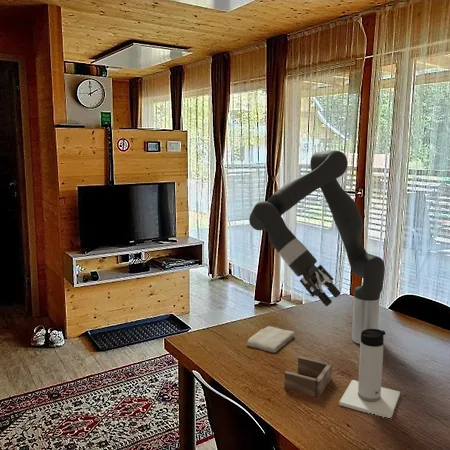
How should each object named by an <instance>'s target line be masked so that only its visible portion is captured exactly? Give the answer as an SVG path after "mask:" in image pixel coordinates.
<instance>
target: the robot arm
mask: <svg viewBox="0 0 450 450" xmlns="http://www.w3.org/2000/svg"><path fill="white" fill-rule="evenodd" d="M309 162H310V163H309V164H310V169H311V171H309V172H308V173H306V174H304V175H301V176H299V177H297V178H294V179H293V180H291V181H289V182H287V183H286V184H284V185H283V186H281V187H280V188H279V189H278V190H276V191H275V192H274V193H273V194H272V195H271V196H270V198H269V199H268V200H261V201H258V202H257V203H256V204H255V205H254V207H253V208H252V210H251V213H250V215H249V220H248V221H249V224H250V227H251V228H252V229H254V230H256V231H266V232H267V234H268V241H269V243H270V244H271V246H272V247H273V248H274V249H275V251H276V252H277V253H278V254H279V255H280V257H281V259H282V260H283V261H284V262H285V263H286V265H287V266H288V267H289V268H290V269H291V271H292V272H293V273H294V275H295V276H297V277H301V276H302V278H301V279H300V280H299V282H300V284H302V287H304V289H305V290H306V291H307V292H308V293H309V295H310V296H311V297H313V298H314V297H317V298H318V299H319V300H320V301H321V303H322V304H323V305H324V306H325V307H328V306H330V305H331V304H332V303H333V301H332V299H331V298H330V297H329V296H328V295H327V293H326V292H325V291H324V290H323V288H322V287H323V286H324V287H325V288H326V289H327V291H329V292H330V294H331V295H332V296H333V298H338V297H339V296H340V295H341V294H342V293H341V291H340V290H339V289H338V288H337V286H335V284H334V278H333V277H332V275H331V274H330V273H329V272H328V271H327V270H326V268H325V267H324V266H323V265H322V264H319V265H318V266H316V265H315V264H316V263H317V262H318V260H317V258H316V257H315V256H314V255H313V254H312V253H311V251H310V250H309V249H308V248H307V247H306V245H304V244H303V242H301V240H299V239H298V238H297V237H296V235H295V234H294V233H293V232H292V231H291V230H290V229H289V228H288V226H287V224H286V222H285V220H284V218H283V217H282V216H283V215H284V214H285V213H286V212H288V211H289V210H291V209H292V208H294V206H296V205H297V204H298V203H300V201H302V200H303V199H305V198H307V196H309V195H310V194H312V193H314V192H315V191H317V190H319V189H320V190H321V191H322V195H323V196H324V199H325V201H326V203H327V206H328V208H329V211H330V213H331V215H332V219H333V221H334V224H335V226H336V228H337V231H338V233H339V235H340V238H341V241H342V244H343V246H344V249H345V252H346V256H347V259H348V264H349V267H350V269H351V272H352V273H353V274H354V275H355V276H356V277H359V278H362V279H363V280H362V285H359V286H356V287H355V288H354V289H353V303H352V304H353V306H352V307H353V308H352V327H351V330H352V331H351V339H352V340H351V341H353V342H354V343H356V344H358V345H360V340H361V333H362V331H363V330H366V329H379V320H380V302H381V299H380V298H381V294H382V291H383V289H384V280H385V273H386V271H385V269H386V267H385V262H384V260H383V259H382V258H381V257H380V256H377V255H374V254H371V253H368V251H367V250H366V249H365V247H364V244H363V240H362V233H363V229H364V221H363V217H362V214H361V212H360V209H359V207H358V204H357V203H356V201H355V200H354V199H353V198H352V197H351V195H349V194H348V192H346V191H345V190H344V189H343V188H342V186H341V185H340V184H339V181H338V178H340V177H342V176H343V175H345V174H344V173H346V171H347V168H348V163H349V161H348V159H347V155H346V154H345V153H344V152H343V151H341V150H340V151H339V150H330V149H329V150H319V151H316V152H314V153H313V154H312V155H311V157H310V161H309Z"/></svg>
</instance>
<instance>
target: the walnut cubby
mask: <svg viewBox="0 0 450 450" xmlns="http://www.w3.org/2000/svg"><path fill="white" fill-rule="evenodd" d="M332 372H333V364H332V363H331V362H324V361H321V360H316V359H313V358H309V357H304V356H300V355H299V356H298V357H297V373H296V372H291V371H288V370H285V372H284V379H283V380H284V381H283V382H284V383H283V384H284V385H283V386H284V389H285V390H291V391H294V392H296V393H297V392H298V393H301V394H304V395H308V396H312V397H316V398H320V397H321V395H322V394H323V392H324V390H326V388H327V386H328V384H329V383H330V382H331V380H332ZM299 373H300V374H299ZM303 374H304V375H303ZM306 375H308V376H306ZM314 377H315V378H314Z"/></svg>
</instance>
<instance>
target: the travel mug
mask: <svg viewBox="0 0 450 450" xmlns="http://www.w3.org/2000/svg"><path fill="white" fill-rule="evenodd" d="M384 336H386V331H385V330H381V329H379V328H378V329H366V330H363V331H362V333H361V340H360V344H359V361H358V363H359V364H358V365H359V366H358V381H359V382H358V396H359V397H360V398H361V399H363V400H365V401H369V402H375V401H378V400H379V399H380V398H381V387H382V379H383V378H382V377H383V362H384V344H385V343H384V338H385V337H384Z"/></svg>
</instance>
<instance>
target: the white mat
mask: <svg viewBox="0 0 450 450" xmlns="http://www.w3.org/2000/svg"><path fill="white" fill-rule="evenodd" d="M358 382H359V380H355V379H351V381H350V383H349V384H348V386H347V388H346V390H345V391H344V393H343V395H342V397H341V398H340V399H339V403H338V405H339V406H341V407H345V408H348V409H349V408H350V409H352V410H356V411H360V412H363V413H366V412H367V413H366V414H370V413H371V414H370V415H373V414H375V415H374V416H377V415H378V416H377V417H380V416H382V417H381V418H384V417H387V418H391V417H392V418H393V415H394V412H395V410H394V409H396V406H397V404H398V402H399V401H398V400H399V398H400V395H401V391H399V390H396V389H395V390H394V389H391V388H387V387H383V386H381V398H380V399H379V400H378V401H375V402H369V401H365V400H363V399H361V398H360V397H359V396H358ZM387 418H386V419H387ZM392 418H391V419H392Z"/></svg>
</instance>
